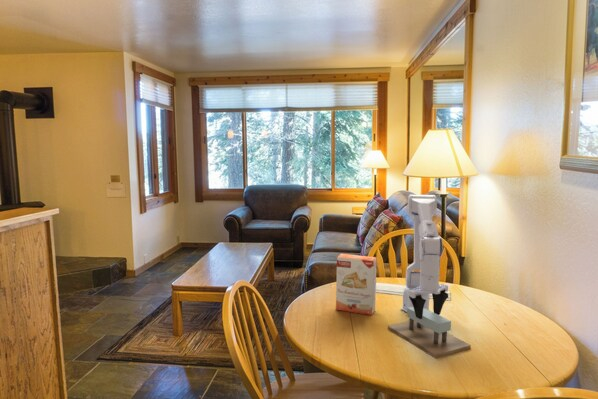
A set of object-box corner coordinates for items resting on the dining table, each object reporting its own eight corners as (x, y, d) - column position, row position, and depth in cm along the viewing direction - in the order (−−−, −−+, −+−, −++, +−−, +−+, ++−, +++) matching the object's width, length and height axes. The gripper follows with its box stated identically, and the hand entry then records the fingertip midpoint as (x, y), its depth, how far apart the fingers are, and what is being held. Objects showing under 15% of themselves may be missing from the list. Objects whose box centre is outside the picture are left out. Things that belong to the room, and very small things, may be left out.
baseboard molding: (450, 303, 160) (449, 293, 171) (450, 296, 160) (449, 287, 171) (372, 294, 170) (376, 285, 181) (372, 288, 170) (376, 279, 181)
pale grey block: (406, 316, 133) (407, 307, 133) (418, 313, 135) (418, 305, 135) (438, 333, 121) (438, 324, 120) (450, 330, 123) (451, 321, 123)
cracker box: (335, 310, 151) (336, 256, 149) (339, 305, 157) (340, 252, 154) (372, 316, 146) (373, 260, 143) (375, 310, 151) (376, 256, 149)
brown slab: (387, 328, 136) (388, 314, 135) (419, 321, 142) (420, 307, 141) (436, 358, 116) (436, 341, 115) (470, 348, 122) (471, 332, 121)
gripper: (421, 281, 120) (419, 324, 121) (456, 274, 126) (454, 316, 127) (405, 274, 126) (403, 316, 127) (439, 269, 132) (437, 308, 134)
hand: (427, 315), depth 128 cm, fingers open, 7 cm apart
